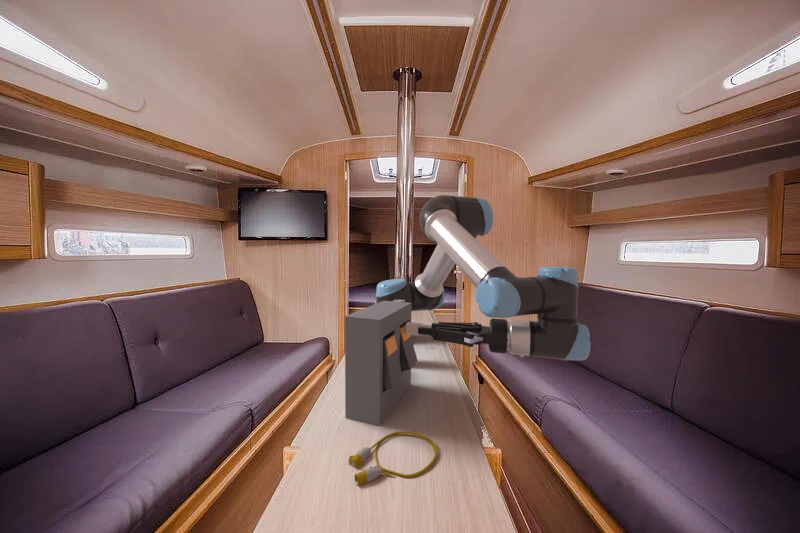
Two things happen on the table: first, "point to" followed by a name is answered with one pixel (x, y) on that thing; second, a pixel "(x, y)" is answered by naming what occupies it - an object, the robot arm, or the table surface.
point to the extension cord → (376, 471)
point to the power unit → (372, 361)
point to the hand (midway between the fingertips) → (406, 327)
